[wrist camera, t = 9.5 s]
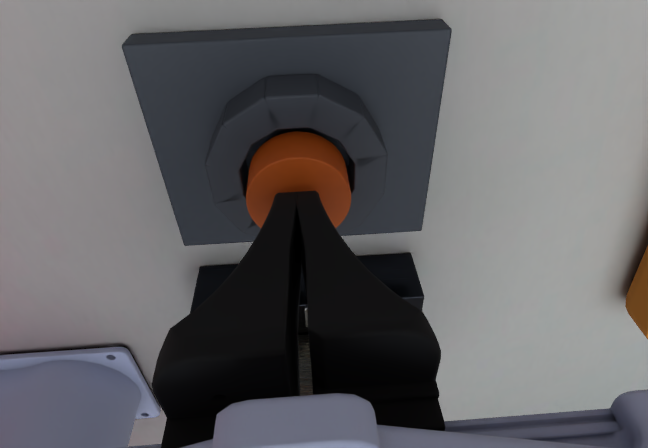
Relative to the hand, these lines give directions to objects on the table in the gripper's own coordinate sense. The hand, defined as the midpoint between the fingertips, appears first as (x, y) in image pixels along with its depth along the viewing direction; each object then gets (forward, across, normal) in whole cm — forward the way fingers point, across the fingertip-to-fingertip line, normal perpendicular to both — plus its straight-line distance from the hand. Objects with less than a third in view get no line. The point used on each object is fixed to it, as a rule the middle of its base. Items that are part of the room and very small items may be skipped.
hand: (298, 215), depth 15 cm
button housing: (+5, 0, 0) cm, 5 cm away
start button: (+2, 0, 0) cm, 2 cm away
